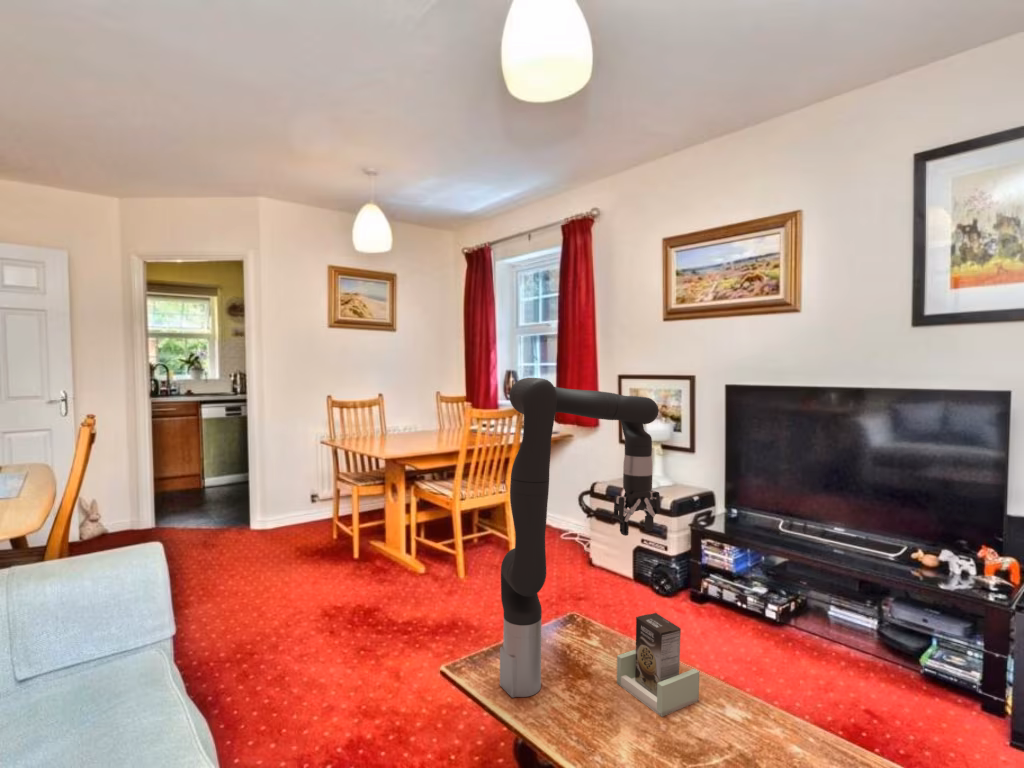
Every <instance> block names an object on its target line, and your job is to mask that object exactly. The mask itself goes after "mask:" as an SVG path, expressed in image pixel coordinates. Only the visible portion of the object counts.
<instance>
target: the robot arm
mask: <svg viewBox="0 0 1024 768" xmlns="http://www.w3.org/2000/svg"><path fill="white" fill-rule="evenodd" d="M508 396H509V401H510V402H509V403H510V405H511V406H512V408H513V409H514V410H516V412H517V413H520V414H522V415H523V433H522V440H521V442H520V447H519V449H518V451H517V453H516V456H515V458H514V462H513V463H512V468H511V472H510V474H511V475H510V487H509V500H510V509H511V515H512V520H513V525H514V526H513V527H514V532H515V533H514V534H515V544H514V545H515V546H514V548H512V549H511V550H509V551H508V552H507V553H505V555H504V557H503V559H502V562H501V566H500V593H501V595H500V596H501V598H500V599H501V605H502V610H503V630H502V631H503V635H502V636H503V637H502V638H503V640H502V641H503V642H502V644H503V646H500V648H499V686H500V687H501V688H502V689H503V690H504V691H505V692H506V693H507V694H508V695H509V696H510V697H511V698H517V697H518V698H519V697H520V698H527V697H531V696H533V695H536V694H538V693H539V691H540V690H541V688H542V617H543V616H542V614H543V613H542V605H541V601H540V598H539V595H538V593H539V592H540V591H541V590H542V589H543V587H544V585H545V582H546V578H547V556H546V530H547V529H546V528H547V518H548V516H547V515H548V500H549V488H550V468H551V467H550V466H551V454H552V452H551V451H552V438H553V437H552V436H553V429H554V423H555V417H556V413H561V414H569V415H573V416H574V415H575V416H579V417H584V418H590V419H597V420H607V421H620V424H621V428H622V433H623V436H624V457H623V466H622V467H623V473H622V475H623V476H622V477H623V478H622V481H623V482H622V488H623V490H624V495H620V496H619V495H615V496H614V502H613V518H614V519H616V520H619V532H620V534H621V535H623V536H624V537H625V536H629V533H630V532H629V527H630V526H629V523H630V522H629V520H630V518H631V517H632V516H633V515H634V513H635V512H638V511H643V512H644V514H645V516H644V530H645V531H648V532H652V531H653V528H654V518H655V516H656V515H658V514H660V513H661V503H660V502H661V501H660V500H661V499H660V497H661V496H660V492H658V491H655V490H653V466H654V465H653V454H652V453H653V451H652V450H653V439H652V435H650V433H648V432H647V431H645V429H644V425H647V424H648V425H649V424H651V423H653V422H655V420H656V419H657V418H658V416H659V411H660V410H659V406H658V404H657V403H656V401H654V399H652V398H650V397H646V396H638V395H637V396H636V395H624V394H623V395H622V394H618V393H614V392H607V391H600V390H590V389H572V388H564V387H557V386H554V384H553V383H552V382H551V381H549V380H548V379H545V378H540V377H538V378H537V377H525V378H521V379H518V380H517V381H516V382H515V383H513V384H512V387H511V388H510V391H509V395H508Z"/></svg>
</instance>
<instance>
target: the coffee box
mask: <svg viewBox="0 0 1024 768" xmlns="http://www.w3.org/2000/svg"><path fill="white" fill-rule="evenodd" d="M635 618H636V619H635V622H636V623H635V649H636V662H635V664H636V665H635V681H636V682H637V683H639V684H640V685H641V686H642V687H643V688H645V689H646V690H648V691H649V692H651V693H652V694H653V695H655V696H656V697H657V683H659V682H661V681H664V680H666V679H669V678H671V677H674V676H677V675H679V674H680V663H681V662H680V660H681V659H680V657H681V656H680V655H681V654H680V653H681V632H682V631H681V630H682V629H681V627H679V626H678V625H676V624H674V623H673V622H671V621H670V620H668V619H666V617H665V618H664V617H663V616H662V615H660V614H658V613H657V612H654V613H653V612H652V613H650V614H648V613H647V614H643V615H638V616H636V617H635Z"/></svg>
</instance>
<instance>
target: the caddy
mask: <svg viewBox="0 0 1024 768" xmlns="http://www.w3.org/2000/svg"><path fill="white" fill-rule="evenodd" d="M635 662H636V648H634V649H633V650H630V651H627V652H625V653H621V654H618V655H616V684H617V685H618V686H620V687H621V688H622V689H623V690H625V691H626V692H627V693H629V694H630V695H632V696H633V697H634V698H636V699H637V700H638V701H640V702H641V703H642V704H643V705H645V706H647V707H648V708H649V709H650V710H652V711H653V712H654V713H655V714H657V715H659V717H661V718H663V717H665V716H668V715H670V714H672V713H674V712H677V711H679V710H681V709H684V708H685V707H688V706H690V705H693V704H696V703H697V702H699V701H700V671H699V670H697V669H696V668H692V669H690V670H687V671H685V672H682V673H679V675H677V676H674V677H671V678H669V679H666V680H664V681H661V682H659V683H657V697H656V696H655V695H653V694H652V693H651V692H649V691H648V690H646V689H645V688H643V687H642V686H641V685H640V684H639V683H637V682H636V681H635V665H636V664H635Z"/></svg>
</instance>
